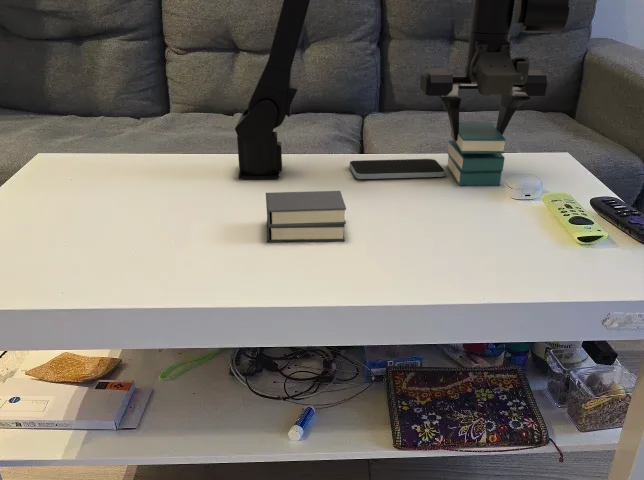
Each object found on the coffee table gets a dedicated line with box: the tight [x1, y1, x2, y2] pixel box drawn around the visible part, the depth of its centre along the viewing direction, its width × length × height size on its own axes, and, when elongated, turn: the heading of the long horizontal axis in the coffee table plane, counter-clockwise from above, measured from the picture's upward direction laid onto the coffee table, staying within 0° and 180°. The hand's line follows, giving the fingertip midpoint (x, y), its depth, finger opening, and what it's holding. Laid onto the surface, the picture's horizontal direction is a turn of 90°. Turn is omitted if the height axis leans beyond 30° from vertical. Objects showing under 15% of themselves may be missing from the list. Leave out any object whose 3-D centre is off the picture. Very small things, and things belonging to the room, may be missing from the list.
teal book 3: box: [446, 154, 503, 187], centre depth 109 cm, size 10×6×2 cm, turn 4°
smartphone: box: [348, 158, 446, 180], centre depth 110 cm, size 7×1×15 cm
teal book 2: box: [447, 139, 506, 172], centre depth 108 cm, size 10×6×2 cm, turn 6°
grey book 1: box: [265, 190, 347, 227], centre depth 87 cm, size 10×6×2 cm, turn 97°
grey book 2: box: [266, 221, 346, 243], centre depth 89 cm, size 10×6×2 cm, turn 94°
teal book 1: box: [450, 121, 507, 155], centre depth 106 cm, size 10×6×2 cm, turn 2°
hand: (476, 140), depth 107 cm, fingers closed on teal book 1, 6 cm apart
